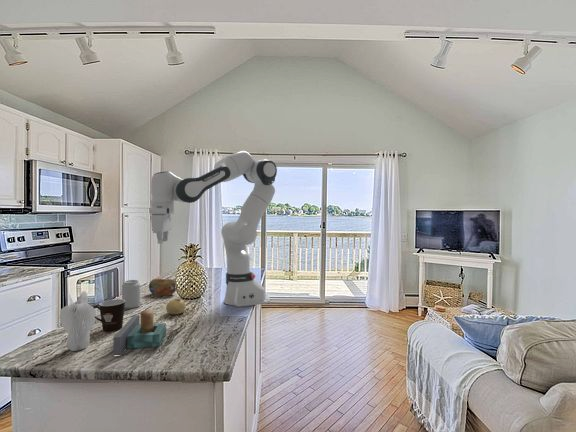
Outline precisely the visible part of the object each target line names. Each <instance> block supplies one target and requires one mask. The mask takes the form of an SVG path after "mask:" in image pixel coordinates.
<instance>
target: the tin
mask: <svg viewBox="0 0 576 432" xmlns="http://www.w3.org/2000/svg"><path fill="white" fill-rule="evenodd" d="M175 283H176V281H175V280H173V278H172V279H171V278H154V279H152V280H150V282H149V285H148V289H149V292H150V293H151V294H152V295H153V296H154V295H155V296H171V295H173V294H175V292H176V290H177V287H176V288H175Z"/></svg>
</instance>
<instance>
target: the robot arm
mask: <svg viewBox="0 0 576 432" xmlns="http://www.w3.org/2000/svg"><path fill="white" fill-rule="evenodd" d="M277 167H278V166H277V165H276V163H275V162H274V161H272V160H270V159H259V160H254V159H253V157H252V154H250V153H249V152H247V151H245V150H242V151H238V152H234V153H232V154H229V155H226V156H225V157H223V158H221V159H220V160H218V161H217V162H216V163H214V167H213V169H212V170H210V171H208V172H206V173H205V174H201V176H198V177H188V178H187V177H186V178H184V179H183V178H181V177H179V176H177V175H175V174H174V173H172V172H171V171H169V170H168V171H160V172H156V173H154V174H153V175H152V177H151V181H150V182H151V184H150V185H151V186H150V193H151V201H150V208H149V214H150V215H151V217H150V218H151V219H150V220H151V229H152V233H153V234H156V238H157V244H158V245H161V244H163V243H164V242H167V241H168V239H169V238H168V237H169V231H171V230H172V214H173V215H174V209H175V208H174V202H179V203H188V204H191V203H195V202H197V201H198V200H199V199H201V197H202V196H203V194H204V193H205V192H206V191H207V190H208V191H209V189H212V188H213V187H215V186H217V185H219V184H221V183H227V182H230V181H232V180H234V179H238V178H239V177H241V176H243V178H244V179H245V180H246V181H247V182H248V183H251V184H254V186H253V190H252V191H251V192H250V194H249V195H248V197H247V198H246V200H245V201H244V202H243V205H242V206H241V208H240V214H239V216H238V218H237V220H236V221H235V220H233V221H229V222H226V223H225V224H224V225H223V226H222V228H221V233H220V234H221V237H222V239H223V242H224V243H223V244H224V249H225V254H226V273H225V284H226V287H225V295H224V299H223V303H224V304H226V305H229V306H230V305H231V306H234V307H239V308H240V307H248V306H249V307H250V306H257V305H266V304H269V303H270V302H271V298H270V296H269V295H268V294H266V290H265V288H264V285H262V284H261V283H259V282H258V281H257V280H256V279H255V278H256V275H255V273H253V271H250V269H251V268H250V267H251V265H250V264H251V263H250V262H251V261H250V260H251V259H250V254H249V251H248V249H247V246H248V245H252V244H253V243H254V242H255V241H256V239H257V236H258V232H257V230H258V227H259V224H260V221H261V219H262V217H264V216H263V215H264V214H265V213H266V210H267V209H268V207H269V206H270V204H271V202H272V200H273V198H274V195H275V193H276V188H275V186H274V185H273V183H275V181H276V176H277V173H278V168H277Z"/></svg>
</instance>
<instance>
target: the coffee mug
mask: <svg viewBox="0 0 576 432" xmlns="http://www.w3.org/2000/svg"><path fill="white" fill-rule="evenodd" d="M92 307H93V308H94V309H98V310H99V313H100V318H99V317H97V315H96V316H95V320H97V321H99V322H100V323H101V327H102V331H103V332H104V333H112V332H116V331H120V330H121V329H122V327H123V323H124V322H123V321H124V314H125V308H124V307H125V300H123V299H122V298H114V299H108V300H104V301H100V302H99V304H98V305H95V306H92Z"/></svg>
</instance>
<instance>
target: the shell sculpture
mask: <svg viewBox="0 0 576 432" xmlns="http://www.w3.org/2000/svg"><path fill="white" fill-rule="evenodd" d="M88 297H89V296H88V293H87V292H86V290H83V291H81V292H80V294H79V296H78V298H77V299H76V300H75V302H73V303H72V302H71V303H70V304H68V305H65V306H63V307H62V308H61V309H60V311H59V321H60V325H61V327H62V328H63V330H64V331H65V332H66V333H67V335H68V336H67V340H66V347H67V349H68V350H70V351H72V352H75V351H76V352H77V351H80V350H83V349H86V348H88V347H89V345H90V342H91V341H90V331H91V330H92V328H93V327H94V324H95V322H96V319H95V316H96V317H97V312H96V310H95V308H93V307H94V306H92V305H91V304H89V299H88Z"/></svg>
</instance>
